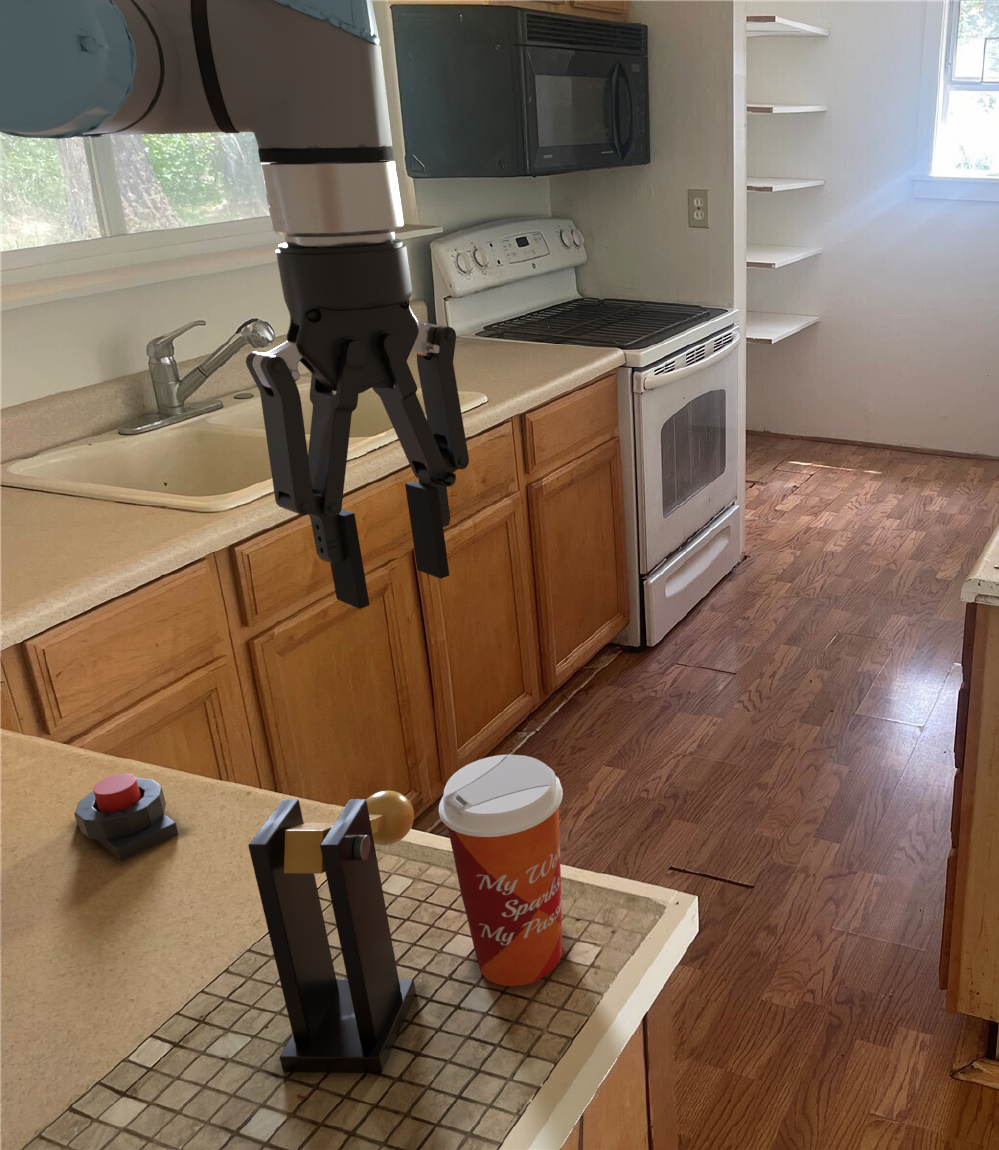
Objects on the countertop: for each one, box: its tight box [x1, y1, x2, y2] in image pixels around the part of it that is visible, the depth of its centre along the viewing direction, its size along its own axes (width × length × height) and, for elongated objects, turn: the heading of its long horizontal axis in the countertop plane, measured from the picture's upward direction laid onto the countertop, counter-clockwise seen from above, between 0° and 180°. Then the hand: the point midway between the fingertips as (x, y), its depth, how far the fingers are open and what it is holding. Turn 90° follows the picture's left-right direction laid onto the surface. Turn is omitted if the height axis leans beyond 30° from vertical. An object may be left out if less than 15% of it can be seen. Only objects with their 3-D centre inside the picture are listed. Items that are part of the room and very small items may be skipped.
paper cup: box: [438, 754, 564, 987], centre depth 70 cm, size 8×8×14 cm
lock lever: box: [284, 790, 415, 875], centre depth 67 cm, size 14×4×4 cm, turn 178°
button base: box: [73, 777, 179, 862], centre depth 86 cm, size 8×6×3 cm
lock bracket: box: [247, 798, 417, 1074], centre depth 64 cm, size 6×6×16 cm
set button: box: [92, 773, 141, 812], centre depth 86 cm, size 3×3×2 cm
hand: (394, 586), depth 74 cm, fingers open, 6 cm apart
